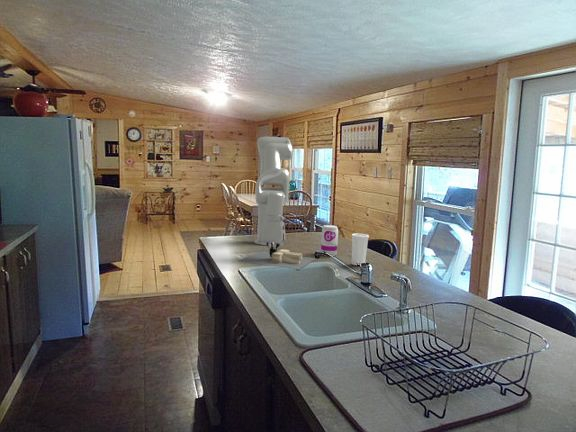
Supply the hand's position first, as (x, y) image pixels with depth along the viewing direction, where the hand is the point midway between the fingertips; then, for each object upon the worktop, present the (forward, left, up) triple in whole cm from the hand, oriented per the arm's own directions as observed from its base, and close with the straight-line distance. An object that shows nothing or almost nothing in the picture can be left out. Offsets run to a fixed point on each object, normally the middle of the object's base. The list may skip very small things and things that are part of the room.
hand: (272, 256), depth 207 cm
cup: (-12, +39, -2) cm, 40 cm away
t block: (0, +8, -1) cm, 8 cm away
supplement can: (-24, +21, -2) cm, 32 cm away
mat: (0, +3, -2) cm, 3 cm away
